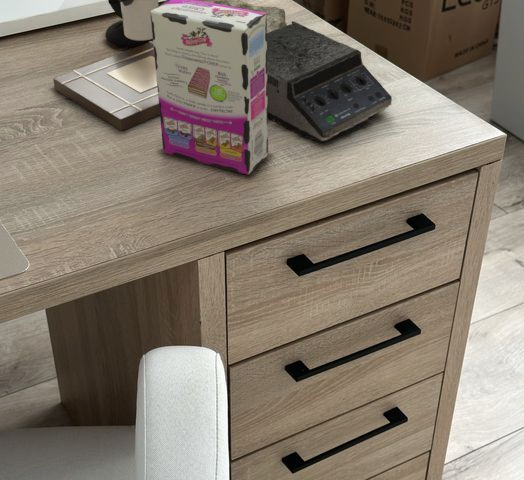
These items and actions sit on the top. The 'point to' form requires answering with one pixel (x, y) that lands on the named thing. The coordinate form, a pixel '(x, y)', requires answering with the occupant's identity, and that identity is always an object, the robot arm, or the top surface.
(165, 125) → the candy bar box
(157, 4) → the white cylinder
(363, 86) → the electronic device
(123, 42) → the webcam
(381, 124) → the top surface
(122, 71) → the grid board
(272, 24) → the rock
